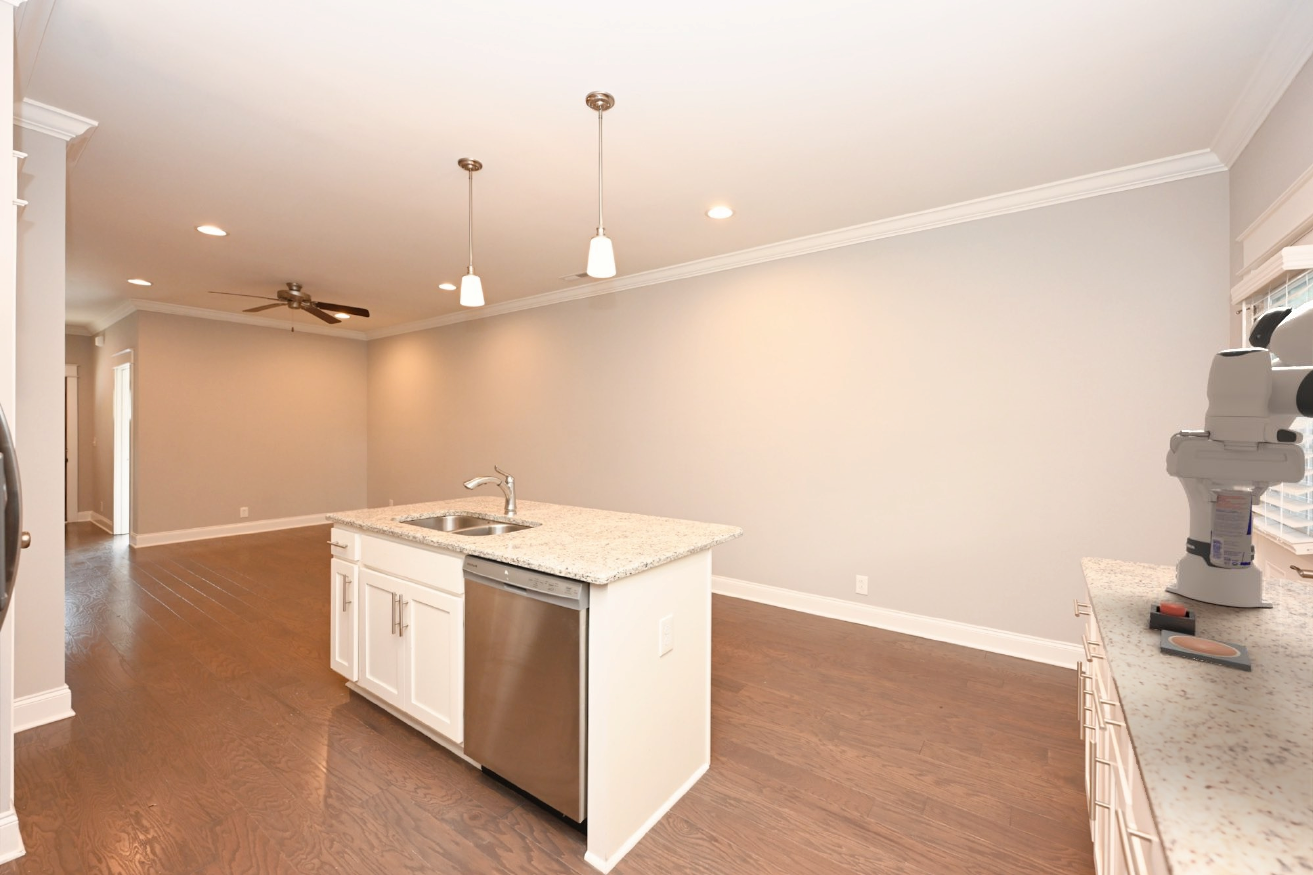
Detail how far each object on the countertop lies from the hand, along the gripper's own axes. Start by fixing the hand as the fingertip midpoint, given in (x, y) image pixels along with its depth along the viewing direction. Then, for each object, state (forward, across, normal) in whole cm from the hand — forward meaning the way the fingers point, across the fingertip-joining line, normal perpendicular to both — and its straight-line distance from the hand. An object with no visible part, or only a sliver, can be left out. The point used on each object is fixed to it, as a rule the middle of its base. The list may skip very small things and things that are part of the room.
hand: (1230, 503), depth 112 cm
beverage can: (+12, +1, 0) cm, 13 cm away
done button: (+26, -4, +7) cm, 27 cm away
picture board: (+28, -6, -5) cm, 29 cm away
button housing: (+28, -4, +7) cm, 29 cm away
